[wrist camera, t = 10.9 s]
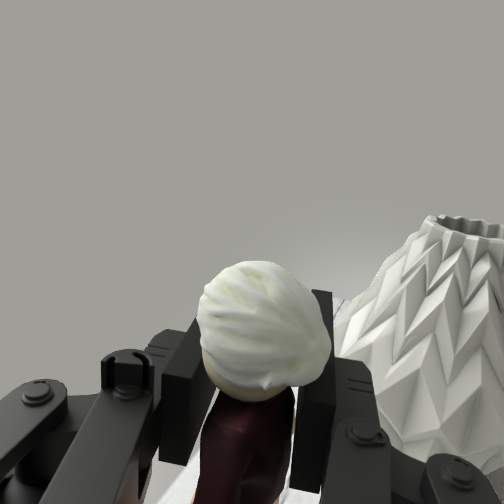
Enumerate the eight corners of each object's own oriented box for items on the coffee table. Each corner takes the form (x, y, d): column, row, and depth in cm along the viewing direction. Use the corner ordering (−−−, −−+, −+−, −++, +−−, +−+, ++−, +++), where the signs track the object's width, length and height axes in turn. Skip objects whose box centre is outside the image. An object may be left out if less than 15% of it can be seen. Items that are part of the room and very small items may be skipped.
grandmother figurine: (199, 507, 18) (221, 219, 14) (289, 528, 18) (339, 235, 14) (115, 762, 11) (111, 333, 7) (260, 809, 11) (349, 375, 7)
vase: (582, 508, 31) (693, 265, 25) (392, 573, 25) (476, 279, 19) (425, 374, 45) (472, 199, 39) (281, 396, 40) (309, 196, 33)
